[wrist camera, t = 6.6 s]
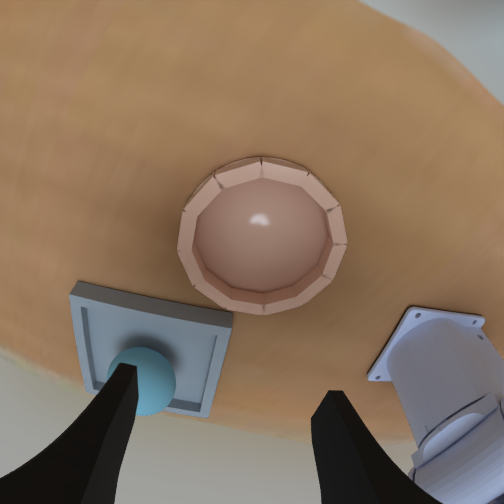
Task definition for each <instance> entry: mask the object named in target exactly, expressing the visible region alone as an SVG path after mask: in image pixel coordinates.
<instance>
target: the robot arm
mask: <svg viewBox="0 0 504 504" xmlns="http://www.w3.org/2000/svg"><path fill="white" fill-rule="evenodd" d="M417 313H418V314H417ZM416 314H417V315H416ZM484 322H485V318H484V317H483V316H477V315H470V314H462V313H455V312H448V311H441V310H433V309H426V308H420V307H411V308H409V309H408V310H407V311H406V313H405V315H404V317H403V318H402V320H401V322H400V323H399V325H398V327H397V329H396V330H395V332H394V334H393V335H392V337H391V339H390V340H389V342H388V343H387V345H386V347H385V348H384V350H383V351H382V353H381V355H380V356H379V358H378V359H377V361H376V362H375V364H374V365H373V367H372V368H371V370H370V371H369V373H368V375H367V378H368V380H369V381H392V382H393V385H394V387H395V390H396V392H397V395H398V397H399V400H400V402H401V405H402V407H403V410H404V412H405V415H406V418H407V420H408V423H409V425H410V428H411V431H412V433H413V436H414V439H415V442H416V444H417V447H418V450H417V451H416V452H415V453H414V454H412V455H411V457H412V460H413V463H414V467H413V468H412V469H411V470H410V472H409V473H408V476H407V475H406V474H405V473H404V472H402V471H401V469H400V468H399V467H398V466H397V465H396V464H395V463H394V462H393V461H392V460H391V459H390V458H389V456H388V455H387V454H386V453H385V451H384V450H383V449H382V448H381V446H380V445H379V444H378V442H377V441H376V440H375V438H374V437H373V436H372V434H371V433H370V431H369V430H368V428H367V427H366V426H365V424H364V423H363V421H362V420H361V418H360V417H359V415H358V414H357V412H356V410H355V409H354V407H353V406H352V404H351V403H350V401H349V400H348V398H347V396H346V395H345V393H344V392H343V391H334V390H329V391H328V392H327V394H326V396H325V397H324V399H323V400H322V402H321V404H320V405H319V407H318V408H317V410H316V411H315V413H314V414H313V416H312V418H311V433H312V444H313V450H314V455H315V461H316V466H317V472H318V478H319V483H320V489H321V502H322V504H504V360H503V359H502V357H501V356H500V354H499V353H498V352H497V350H496V349H495V347H494V346H493V344H492V343H491V342H490V340H489V339H488V338H487V336H486V335H485V333H484V332H483V331H482V329H481V327H482V325H483V324H484ZM138 400H139V391H138V374H137V366H135V365H131V364H126V363H122V362H121V363H119V364H118V365H117V367H116V368H115V370H114V372H113V373H112V375H111V376H110V378H109V379H108V380H107V382H106V383H105V385H104V386H103V387H102V389H101V390H100V391H99V393H98V394H97V395H96V396H95V398H94V399H93V400H92V401H91V403H90V404H89V405H88V406H87V408H86V409H85V410H84V411H83V412H82V413H81V414H80V415H79V416H78V418H77V419H76V420H75V421H74V422H73V423H72V424H71V425H70V426H69V427H68V428H67V429H66V430H65V431H64V432H63V433H62V434H61V435H60V436H59V437H58V438H57V439H56V440H54V441H53V442H52V443H51V444H50V445H49V446H47V447H46V448H45V449H44V450H43V451H41V452H40V453H39V454H38V455H36V456H35V457H33V458H32V459H30V460H29V461H28V462H26V463H25V464H23V465H22V466H21V467H19V468H17V469H16V470H14V471H12V472H10V473H9V474H7V475H5V476H3V477H2V478H0V504H114V502H115V494H116V488H117V481H118V476H119V471H120V467H121V464H122V461H123V457H124V454H125V450H126V447H127V444H128V441H129V437H130V434H131V430H132V427H133V424H134V420H135V415H136V410H137V405H138Z"/></svg>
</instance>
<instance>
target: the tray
mask: <svg viewBox="0 0 504 504" xmlns="http://www.w3.org/2000/svg"><path fill="white" fill-rule="evenodd" d="M69 297H70V305H71V313H72V320H73V327H74V333H75V339H76V345H77V351H78V356H79V361H80V366H81V371H82V376H83V380H84V385H85V389H86V392H88V393H91V394H95V395H97V394H98V393H99V391H100V390H101V389H102V387H103V386H104V385H105V383H106V382H107V372H108V368H109V366H110V364H111V362H112V360H113V359H114V358H115V357H116V356H117V355H118V354H119V353H121V352H122V351H124V350H126V349H129V348H133V347H145V348H149V349H152V350H155V351H157V352H158V353H160V354H161V355H163V356H164V357H165V358H166V359H167V360H168V362H169V363H170V364H171V366H172V368H173V370H174V373H175V377H176V390H175V394H174V397H173V399H172V400H171V402H170V404H169V405H168V406H167V407H166V408H165V409H163V410H162V411H167V412H172V413H178V414H183V415H189V416H195V417H202V418H208V417H209V413H210V409H211V405H212V402H213V398H214V394H215V391H216V387H217V383H218V379H219V376H220V372H221V368H222V364H223V361H224V357H225V353H226V349H227V346H228V342H229V338H230V334H231V331H232V313H230V312H224V311H219V310H213V309H208V308H202V307H197V306H191V305H186V304H181V303H176V302H171V301H166V300H161V299H156V298H151V297H146V296H142V295H137V294H132V293H128V292H123V291H119V290H114V289H110V288H106V287H101V286H97V285H93V284H89V283H85V282H81V281H78V282H77V284H76V285H75V286H74V288H73V289H72V291H71V292H70V294H69Z"/></svg>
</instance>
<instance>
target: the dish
mask: <svg viewBox="0 0 504 504" xmlns="http://www.w3.org/2000/svg"><path fill="white" fill-rule="evenodd" d="M346 243H347V238H346V232H345V226H344V221H343V216H342V210H341V206H340V204H339V202H338V201H337V200H336V198H335V197H334V196H333V195H332V194H331V193H330V192H329V191H328V190H327V188H326V187H325V186H324V185H323V183H322V182H321V181H320V180H319V179H318V178H317V177H316V176H315V175H313V174H312V173H311V172H310V171H308V170H307V169H306V168H304V167H303V166H300V165H297V164H295V163H293V162H290V161H287V160H284V159H280V158H274V157H262V156H261V157H251V158H245V159H241V160H237V161H234V162H232V163H229V164H227V165H225V166H223V167H221V168H219V169H217V170H216V171H214V172H213V173H212V174H210V175H209V176H208V177H207V178H206V179H205V180H204V181H203V182H202V183H201V184H200V185H199V186H198V188H197V189H196V190H195V191H194V193H193V195H192V196H191V197H190V199H189V200H188V201H187V203H186V205H185V207H184V209H183V211H182V218H181V224H180V231H179V238H178V245H177V250H178V251H177V253H178V255H179V257H180V260H181V262H182V264H183V266H184V268H185V270H186V273H187V275H188V277H189V279H190V281H191V283H192V285H194V288H196V289H197V290H198V291H200V292H201V293H203V294H204V295H205V296H207V297H208V298H210V299H211V300H212V301H214V302H215V303H217V304H218V305H220V306H221V307H222V308H225V307H226V310H232V311H238V312H244V313H250V314H256V315H262V316H263V314H264V313H265V315H269V314H273V313H277V312H281V311H285V310H288V309H292V308H296V307H300V306H302V305H301V303H302V304H303V305H304V304H305V303H307V302H308V301H309V300H310V299H312V298H313V297H314V296H315V295H316V294H318V293H319V292H320V291H321V290H322V289H324V288H325V287H326V286H327V285H328V284H329V283H331V282H332V280H331V279H334V277H335V275H336V272H337V270H338V267H339V265H340V262H341V260H342V257H343V255H344V252H345V250H346V247H347V244H346Z"/></svg>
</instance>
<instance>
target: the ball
mask: <svg viewBox="0 0 504 504" xmlns="http://www.w3.org/2000/svg"><path fill="white" fill-rule="evenodd" d="M121 362H122V363H126V364H131V365H135V366H137V374H138V391H139V400H138V405H137V410H136V415H141V416H148V415H153V414H156V413H158V412H160V411H162V410H163V409H165V408H166V407H167V406H168V405H169V404H170V402H171V400H172V399H173V397H174V394H175V390H176V377H175V373H174V370H173V368H172V366H171V364H170V363H169V362H168V360H167V359H166V358H165V357H164V356H163V355H161V354H160V353H158V352H157V351H155V350H152V349H149V348H145V347H133V348H129V349H126V350H124V351H122V352H121V353H119V354H118V355H117V356H116V357H115V358H114V359H113V360H112V362H111V364H110V366H109V368H108V372H107V380H108V379H109V378H110V376H111V375H112V373H113V372H114V370H115V368H116V367H117V365H118V364H119V363H121Z"/></svg>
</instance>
